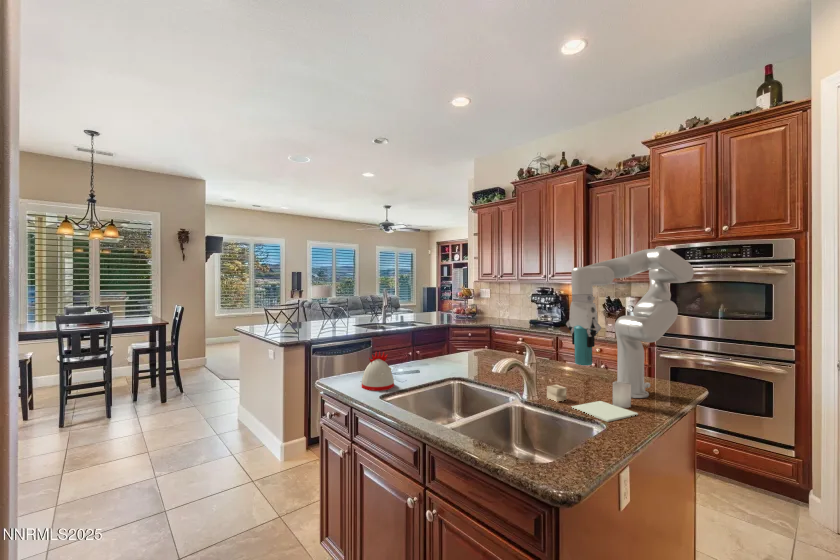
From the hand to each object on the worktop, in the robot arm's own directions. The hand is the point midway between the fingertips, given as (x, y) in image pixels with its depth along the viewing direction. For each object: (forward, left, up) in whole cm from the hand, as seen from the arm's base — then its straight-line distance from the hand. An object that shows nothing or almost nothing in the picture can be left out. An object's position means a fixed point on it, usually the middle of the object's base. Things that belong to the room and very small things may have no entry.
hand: (583, 345), depth 148 cm
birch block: (+10, -4, -21) cm, 24 cm away
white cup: (-7, +11, -21) cm, 25 cm away
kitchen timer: (+66, -51, -21) cm, 86 cm away
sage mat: (+5, +13, -21) cm, 25 cm away
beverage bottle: (0, 0, -9) cm, 9 cm away
